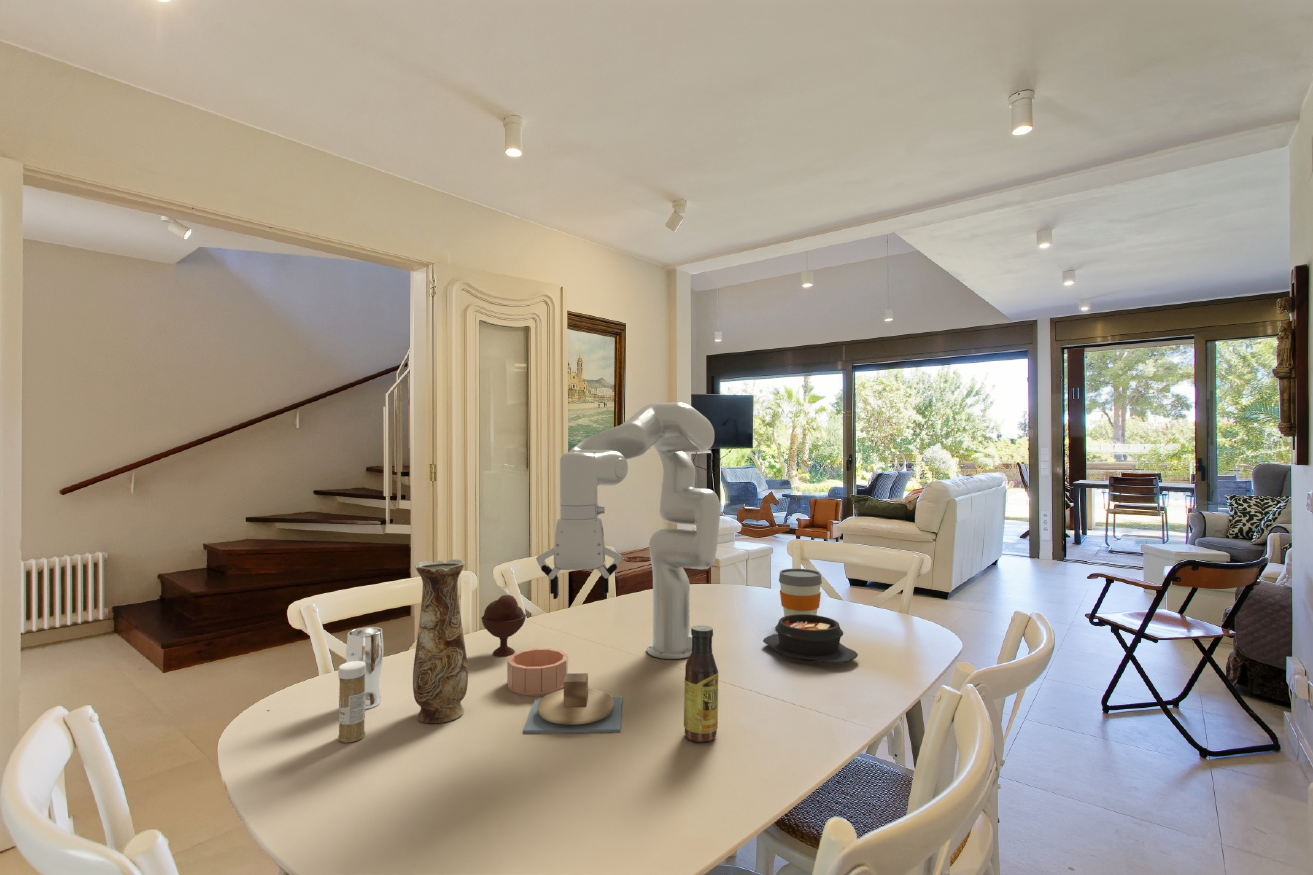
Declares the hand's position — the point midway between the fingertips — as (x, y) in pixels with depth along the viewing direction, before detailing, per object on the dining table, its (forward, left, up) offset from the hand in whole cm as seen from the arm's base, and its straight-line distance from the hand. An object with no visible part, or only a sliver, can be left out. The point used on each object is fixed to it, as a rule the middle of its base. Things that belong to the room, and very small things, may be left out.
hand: (579, 596), depth 129 cm
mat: (+1, +3, -23) cm, 23 cm away
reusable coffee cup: (-60, -59, -23) cm, 88 cm away
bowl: (+11, -13, -23) cm, 29 cm away
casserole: (-55, -31, -23) cm, 68 cm away
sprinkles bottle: (+41, +12, -23) cm, 48 cm away
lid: (0, +3, -21) cm, 21 cm away
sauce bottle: (-23, +13, -23) cm, 35 cm away
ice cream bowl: (+23, -34, -23) cm, 47 cm away
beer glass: (+45, -3, -23) cm, 50 cm away
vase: (+28, +2, -23) cm, 36 cm away
